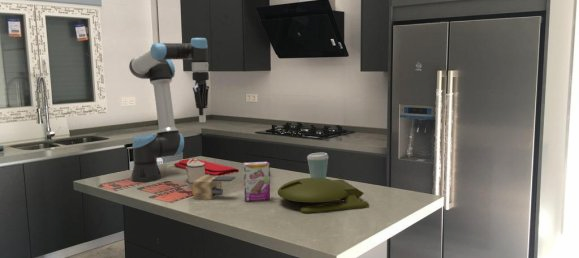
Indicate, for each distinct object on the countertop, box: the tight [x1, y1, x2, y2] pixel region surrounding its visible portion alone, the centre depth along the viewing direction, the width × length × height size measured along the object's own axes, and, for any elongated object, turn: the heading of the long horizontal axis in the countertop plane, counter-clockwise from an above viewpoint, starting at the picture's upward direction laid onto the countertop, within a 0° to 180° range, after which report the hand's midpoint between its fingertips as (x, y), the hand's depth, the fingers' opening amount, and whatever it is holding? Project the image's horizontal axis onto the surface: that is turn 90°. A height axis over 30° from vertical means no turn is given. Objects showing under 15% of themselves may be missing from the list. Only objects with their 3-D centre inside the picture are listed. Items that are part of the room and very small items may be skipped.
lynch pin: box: [191, 185, 224, 197], centre depth 219 cm, size 13×5×5 cm, turn 75°
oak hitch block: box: [192, 174, 222, 201], centre depth 221 cm, size 8×12×8 cm, turn 165°
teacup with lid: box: [185, 158, 206, 184], centre depth 250 cm, size 12×9×12 cm
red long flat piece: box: [173, 158, 240, 176], centre depth 279 cm, size 16×41×4 cm, turn 46°
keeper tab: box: [212, 175, 236, 182], centre depth 217 cm, size 9×6×1 cm
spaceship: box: [277, 177, 370, 214], centre depth 209 cm, size 35×31×10 cm
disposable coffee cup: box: [306, 151, 329, 179], centre depth 239 cm, size 11×11×15 cm
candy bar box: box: [242, 161, 271, 203], centre depth 213 cm, size 11×5×16 cm, turn 102°
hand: (202, 122), depth 230 cm, fingers closed
